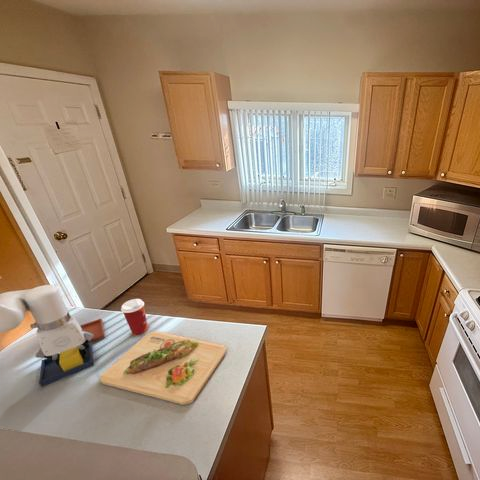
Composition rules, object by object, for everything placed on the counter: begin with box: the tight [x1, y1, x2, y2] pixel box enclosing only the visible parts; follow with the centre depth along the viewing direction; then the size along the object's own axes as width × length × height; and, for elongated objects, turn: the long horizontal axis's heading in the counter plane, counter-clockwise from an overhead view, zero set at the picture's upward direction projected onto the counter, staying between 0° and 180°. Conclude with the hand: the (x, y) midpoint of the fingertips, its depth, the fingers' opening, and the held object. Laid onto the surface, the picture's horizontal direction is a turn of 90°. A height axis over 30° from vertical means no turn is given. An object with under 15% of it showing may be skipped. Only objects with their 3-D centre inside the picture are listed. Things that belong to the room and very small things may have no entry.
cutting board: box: [99, 330, 228, 406], centre depth 91 cm, size 35×23×8 cm
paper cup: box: [120, 298, 149, 336], centre depth 104 cm, size 8×8×14 cm
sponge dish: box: [79, 318, 106, 344], centre depth 103 cm, size 12×9×2 cm
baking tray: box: [38, 342, 95, 388], centre depth 90 cm, size 13×11×2 cm
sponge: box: [59, 347, 83, 371], centre depth 90 cm, size 8×5×4 cm, turn 42°
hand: (73, 359), depth 91 cm, fingers closed on sponge, 5 cm apart
